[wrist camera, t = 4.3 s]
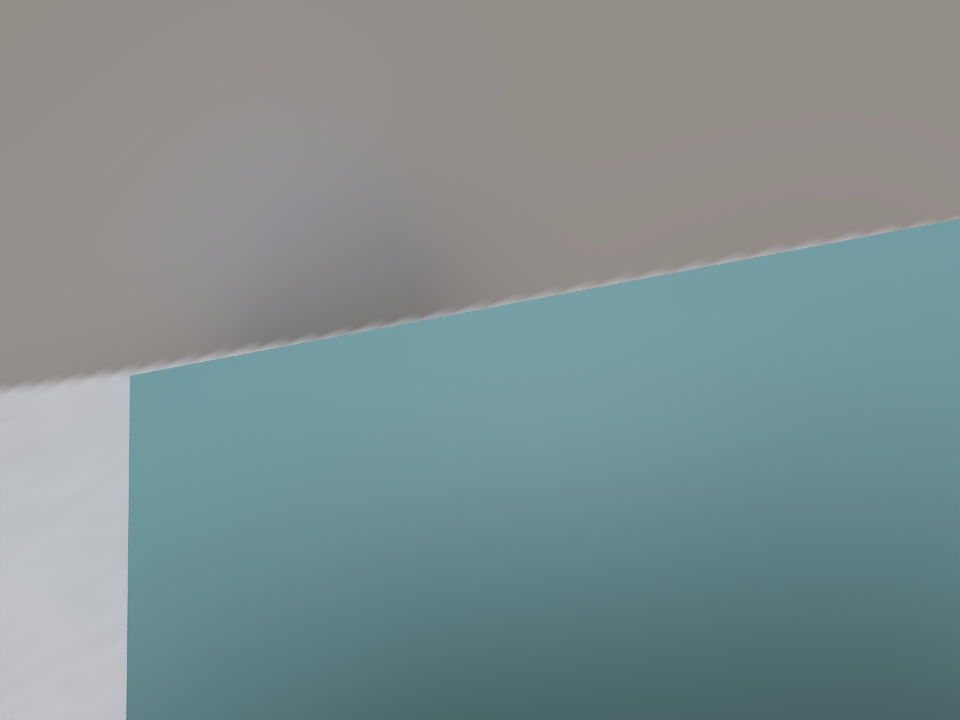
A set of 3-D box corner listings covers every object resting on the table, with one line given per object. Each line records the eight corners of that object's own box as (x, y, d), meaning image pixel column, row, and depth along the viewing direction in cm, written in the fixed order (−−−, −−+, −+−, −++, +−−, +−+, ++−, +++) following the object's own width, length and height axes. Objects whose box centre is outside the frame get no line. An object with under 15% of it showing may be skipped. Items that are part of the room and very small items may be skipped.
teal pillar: (667, 598, 14) (1677, 1758, 1) (493, 620, 15) (116, 1608, 2) (629, 422, 15) (1009, 208, 3) (468, 448, 16) (129, 376, 3)
